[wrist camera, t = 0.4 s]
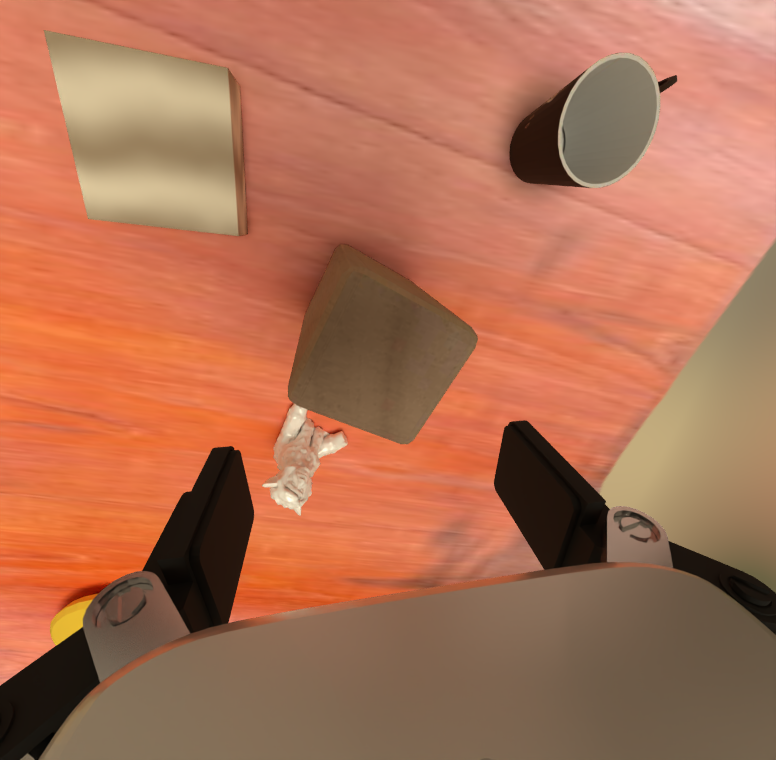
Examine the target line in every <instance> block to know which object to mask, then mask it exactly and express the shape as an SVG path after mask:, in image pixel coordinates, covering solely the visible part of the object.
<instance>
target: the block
mask: <svg viewBox="0 0 776 760" xmlns="http://www.w3.org/2000/svg"><path fill="white" fill-rule="evenodd" d="M477 340H478V338H477V335H476V333H475V332H474V330H473V329H472V327H471V326H469V325H468V324H467V323H465V322H464V321H463V320H461V319H460V318H459V317H457V316H456V315H455V314H454V313H452V312H451V311H450V310H448V309H447V308H446V307H444V306H443V305H442V304H440V303H439V302H438V301H436V300H435V299H434V298H433V297H431V296H430V295H429V294H427V293H426V292H425V291H423V290H422V289H421V288H419V287H418V286H417V285H415V284H414V283H413V282H411V281H410V280H408V279H406V278H405V277H403V276H401V275H399V274H398V273H396V272H394V271H393V270H391V269H389V268H387V267H386V266H384V265H382V264H380V263H379V262H377V261H375V260H373V259H372V258H370V257H368V256H366V255H365V254H363V253H361V252H359V251H358V250H356V249H354V248H352V247H351V246H349V245H344V244H340V245H339V246H338V247H337V248H336V249H335V251H334V253H333V255H332V257H331V259H330V261H329V264H328V266H327V268H326V270H325V272H324V274H323V277H322V279H321V281H320V283H319V285H318V287H317V290H316V292H315V294H314V296H313V298H312V300H311V303H310V305H309V307H308V309H307V311H306V313H305V316H304V320H303V325H302V329H301V333H300V337H299V342H298V346H297V350H296V355H295V359H294V363H293V367H292V372H291V376H290V380H289V385H288V397H289V399H290V401H292V402H293V403H294V404H296V405H297V406H299V407H302V408H305V409H307V410H310V411H313V412H316V413H318V414H321V415H324V416H326V417H329V418H332V419H335V420H337V421H340V422H343V423H345V424H348V425H351V426H353V427H356V428H359V429H362V430H364V431H367V432H370V433H372V434H375V435H378V436H381V437H383V438H386V439H389V440H391V441H394V442H397V443H399V444H409V443H410V442H411V441H413V440H414V439H415V437H416V436H417V434H418V433H419V431H420V430H421V428H422V427H423V425H424V424H425V422H426V421H427V419H428V418H429V416H430V415H431V413H432V412H433V410H434V409H435V407H436V406H437V404H438V403H439V401H440V400H441V398H442V397H443V395H444V394H445V392H446V391H447V389H448V388H449V386H450V385H451V383H452V382H453V380H454V379H455V377H456V376H457V374H458V373H459V371H460V370H461V368H462V367H463V365H464V364H465V362H466V361H467V359H468V358H469V356H470V355H471V353H472V352H473V350H474V349H475V347H476V343H477Z"/></svg>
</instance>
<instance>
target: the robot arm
mask: <svg viewBox="0 0 776 760" xmlns="http://www.w3.org/2000/svg"><path fill="white" fill-rule="evenodd" d="M494 486H495V490H496V492H497V493H498V495H499V497H500V498H501V500H502V502H503V503H504V505H505V506H506V508H507V510H508V511H509V513H510V515H511V516H512V518H513V519H514V521H515V523H516V524H517V526H518V528H519V529H520V531H521V532H522V534H523V536H524V537H525V539H526V541H527V542H528V544H529V545H530V547H531V549H532V550H533V552H534V554H535V555H536V557H537V558H538V560H539V562H540V563H541V565H542V567H543V568H544V570H540V571H534V572H528V573H521V574H515V575H508V576H502V577H495V578H489V579H483V580H476V581H470V582H464V583H457V584H451V585H445V586H439V587H432V588H426V589H420V590H414V591H408V592H402V593H395V594H389V595H383V596H377V597H371V598H365V599H359V600H353V601H347V602H341V603H335V604H329V605H323V606H317V607H311V608H305V609H299V610H294V611H289V612H283V613H278V614H272V615H267V616H261V617H256V618H251V619H245V620H240V621H236V622H232V623H228V622H229V618H230V614H231V610H232V606H233V602H234V598H235V594H236V590H237V586H238V582H239V577H240V573H241V569H242V565H243V561H244V557H245V553H246V549H247V545H248V541H249V536H250V532H251V528H252V524H253V520H254V509H253V504H252V500H251V495H250V491H249V487H248V483H247V478H246V474H245V470H244V465H243V461H242V457H241V453H240V451H239V450H234V448H233V447H232V446H229V447H218V448H213V449H212V451H211V453H210V455H209V457H208V459H207V461H206V463H205V465H204V467H203V469H202V471H201V473H200V475H199V477H198V479H197V481H196V483H195V485H194V487H193V489H192V491H190V492H185V493H184V494H183V495H182V496H181V498H180V500H179V502H178V503H177V505H176V507H175V509H174V511H173V513H172V515H171V517H170V519H169V521H168V523H167V524H166V526H165V528H164V530H163V532H162V534H161V536H160V538H159V540H158V542H157V544H156V545H155V547H154V549H153V551H152V553H151V555H150V557H149V559H148V561H147V563H146V565H145V566H144V568H143V570H142V571H139V572H134V573H131V574H128V575H125V576H123V577H121V578H119V579H117V580H115V581H114V582H112V583H111V584H109V585H108V586H107V587H105V588H104V589H103V590H102V591H101V592H100V593H99V594H98V595H97V596H96V597H95V598H94V599H93V600H92V602H91V603H90V605H89V606H88V607H87V609H86V612H85V614H84V617H83V627H82V628H80V629H79V630H78V631H76V632H75V633H73V634H72V635H71V636H69V637H68V638H66V639H65V640H64V641H62V642H61V643H59V644H58V645H57V646H55V647H54V648H52V649H51V650H50V651H48V652H47V653H45V654H44V655H43V656H41V657H40V658H38V659H37V660H36V661H34V662H33V663H31V664H30V665H29V666H27V667H26V668H24V669H23V670H22V671H20V672H19V673H17V674H16V675H15V676H13V677H12V678H10V679H9V680H8V681H6V682H5V683H3V684H2V685H1V686H0V760H776V593H775V592H773V591H772V590H771V589H770V588H769V587H768V586H766V585H765V584H764V583H762V582H761V581H759V580H758V579H756V578H754V577H753V576H751V575H748V574H747V573H744V572H743V571H740V570H738V569H735V568H733V567H730V566H728V565H725V564H723V563H721V562H718V561H716V560H713V559H711V558H709V557H706V556H704V555H701V554H699V553H696V552H694V551H691V550H689V549H686V548H684V547H682V546H679V545H677V544H675V543H672V542H670V541H668V537H667V534H666V532H665V530H664V529H663V528H662V526H661V525H660V524H659V523H658V522H657V521H655V520H654V519H653V518H652V517H650V516H648V515H647V514H645V513H643V512H641V511H638V510H636V509H633V508H629V507H621V506H619V507H613V508H612V509H609V508H608V507H607V506H606V505H605V502H606V501H605V500H604V499H603V498H602V497H601V496H600V494H599V493H598V492H597V491H596V490H595V489H594V488H593V487H592V486H591V485H590V484H589V483H588V482H587V481H586V480H585V479H584V478H583V477H582V476H581V475H580V474H579V473H578V472H577V471H576V470H575V469H574V468H573V467H572V466H571V465H570V464H569V463H568V462H567V461H566V460H565V459H564V458H563V457H562V456H561V455H560V454H559V453H558V452H557V451H556V450H555V449H554V448H553V447H552V446H551V445H550V443H549V442H548V441H547V440H546V439H545V438H544V437H543V436H542V435H541V434H540V433H539V432H538V431H537V430H536V429H535V428H534V427H533V426H532V425H531V424H530V423H529V422H528V421H525V420H524V421H513V422H510V423H509V424H508V426H506V427H505V428H504V433H503V438H502V443H501V448H500V453H499V458H498V464H497V469H496V474H495V479H494Z"/></svg>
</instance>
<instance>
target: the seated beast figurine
mask: <svg viewBox="0 0 776 760" xmlns="http://www.w3.org/2000/svg"><path fill="white" fill-rule="evenodd" d="M307 411H308V410H307V409H305V408H302V407H299V406H297V405H296V404H293V406H292V407H291V408H290V409H289V411H288V413H287V417H286V420H285V422H284V425H283V428H282V429H281V433H280V434H279V437H278V438H277V442H276V443H275V446H274V447H273V449H274V458H275V460H276V462H277V464H278V466H277V468H278V469H279V470H280V471H279V472H278V473H277V475H276V476H274V477H271V478H269V479H268V480H267V481H265V483H264V484H263V485H262V486H263V487H270V493H271V498H272V499H274V500H275V501H276V502H277V504H278V505H283V507H284V508H289V509H294V511H295V512H296V513H297V514H298V515H301V506H302V505H303V504H304V503H305V502H306V501H307V500H308V497H309V496H310V495H311V494H312V491H311V488H312V486H311V485H312V480H311V478H310V477H313V474H314V472H315V471H316V469H317V468H318V467H319V465H320V464H321V463H320V461H319V458H321V457H322V456H326V455H328V454H331V453H336V451H337V450H340V449H341V448H343V447H345V446H346V445H348V441H347V438H346V436H345V435H344V432H343V431H340V432H337V433H335V434H329V433H328V432H326V431H324V430H323V429H321V428H320V426H317V427H316V428H315V427H314V423H313V421H312V422H311V419H309V418H307V417H306V415H307V414H306V413H307ZM311 436H312V437H311Z"/></svg>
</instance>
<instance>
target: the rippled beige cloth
mask: <svg viewBox="0 0 776 760" xmlns="http://www.w3.org/2000/svg"><path fill="white" fill-rule="evenodd" d="M44 33H45V37H46V41H47V46H48V50H49V54H50V58H51V63H52V67H53V71H54V75H55V80H56V84H57V88H58V93H59V97H60V101H61V105H62V110H63V114H64V118H65V122H66V127H67V131H68V135H69V139H70V144H71V148H72V152H73V156H74V161H75V165H76V169H77V173H78V178H79V182H80V186H81V190H82V195H83V199H84V203H85V208H86V212H87V216H88V219H94V220H102V221H111V222H120V223H129V224H137V225H146V226H155V227H163V228H172V229H181V230H190V231H198V232H207V233H216V234H225V235H233V236H241V235H246V234H248V229H247V210H246V192H245V173H244V154H243V136H242V117H241V98H240V86H239V84H238V83H237V81H236V80H235V78H234V77H233V75H232V74H231V72H230V71H229V69H228V68H225V67H220V66H216V65H211V64H206V63H201V62H196V61H191V60H187V59H182V58H177V57H172V56H167V55H162V54H157V53H153V52H148V51H143V50H138V49H133V48H128V47H124V46H119V45H114V44H109V43H104V42H99V41H94V40H90V39H85V38H80V37H75V36H70V35H65V34H61V33H56V32H51V31H46V30H44Z"/></svg>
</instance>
